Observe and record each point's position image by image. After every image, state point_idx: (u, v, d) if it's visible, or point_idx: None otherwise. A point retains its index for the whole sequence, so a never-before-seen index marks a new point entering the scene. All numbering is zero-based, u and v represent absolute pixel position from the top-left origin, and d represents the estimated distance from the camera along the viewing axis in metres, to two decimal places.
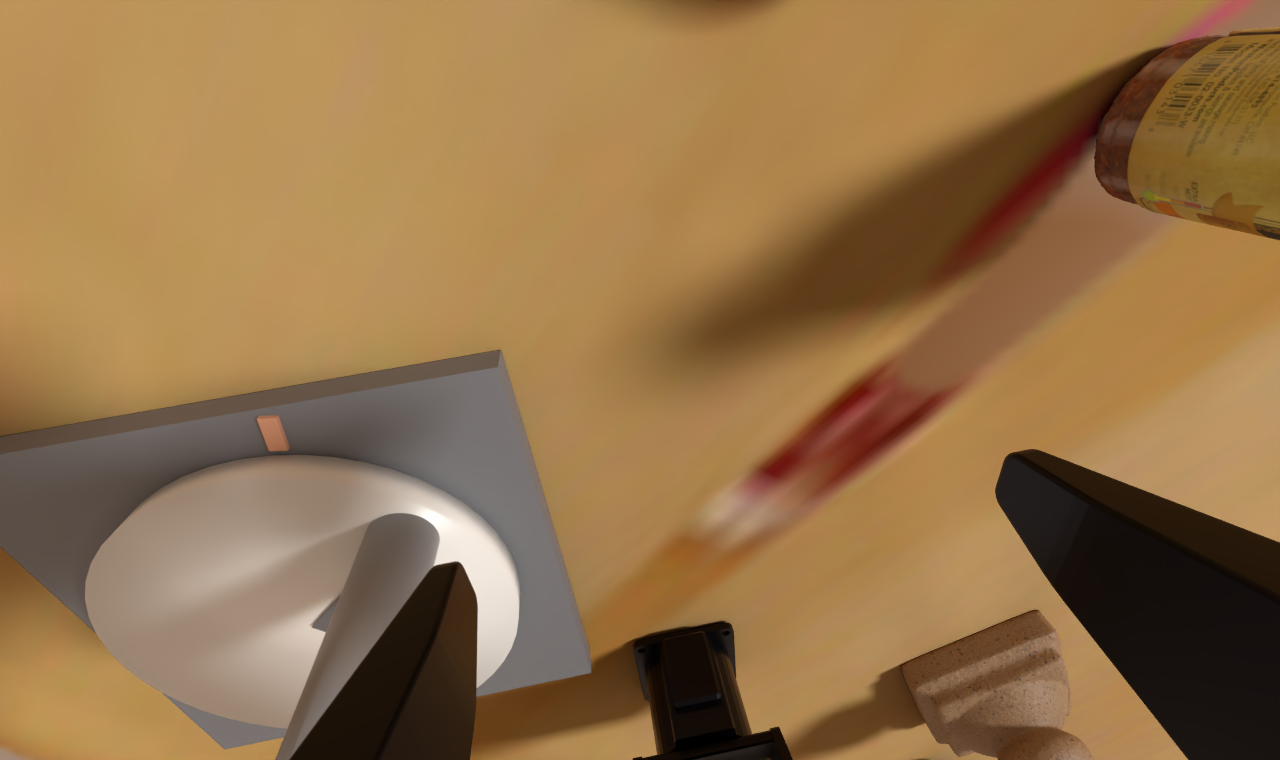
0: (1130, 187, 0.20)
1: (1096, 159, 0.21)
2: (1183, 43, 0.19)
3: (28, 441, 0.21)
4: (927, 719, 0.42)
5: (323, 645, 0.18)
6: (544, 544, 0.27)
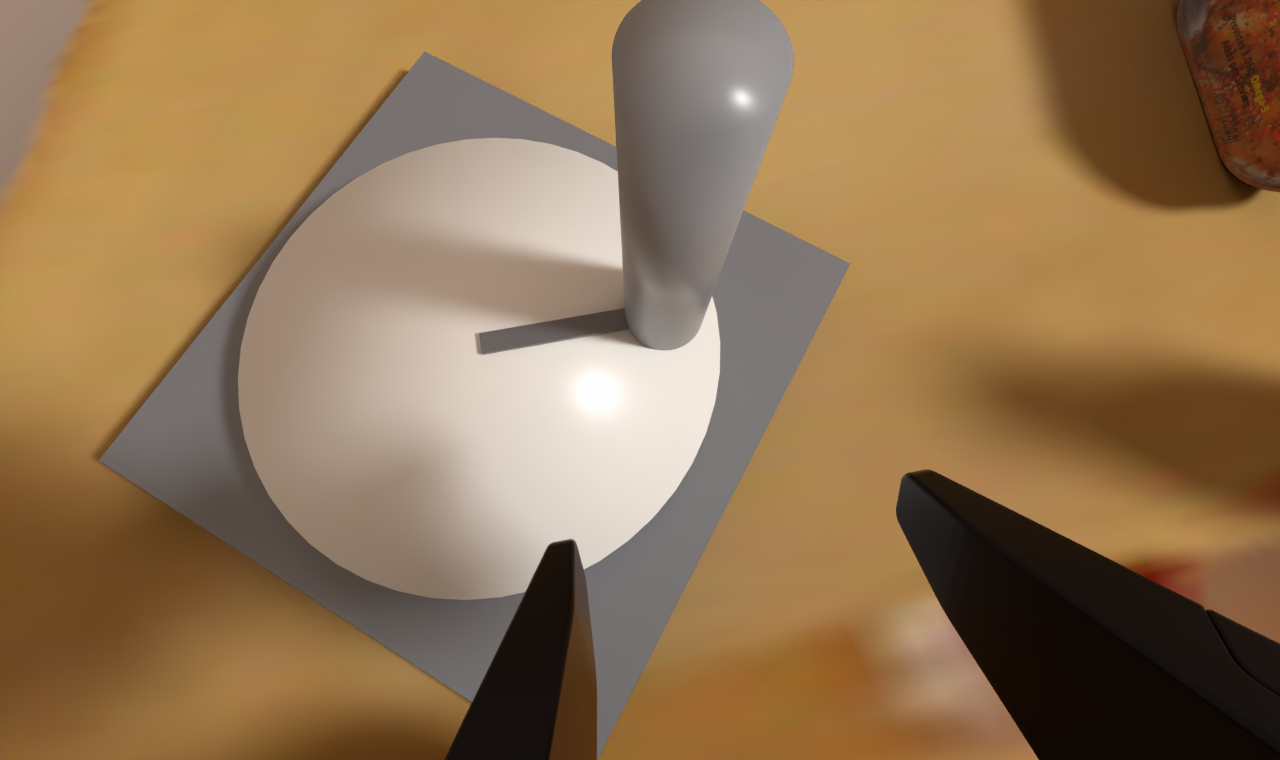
0: None
1: None
2: None
3: None
4: None
5: None
6: (733, 470, 0.21)
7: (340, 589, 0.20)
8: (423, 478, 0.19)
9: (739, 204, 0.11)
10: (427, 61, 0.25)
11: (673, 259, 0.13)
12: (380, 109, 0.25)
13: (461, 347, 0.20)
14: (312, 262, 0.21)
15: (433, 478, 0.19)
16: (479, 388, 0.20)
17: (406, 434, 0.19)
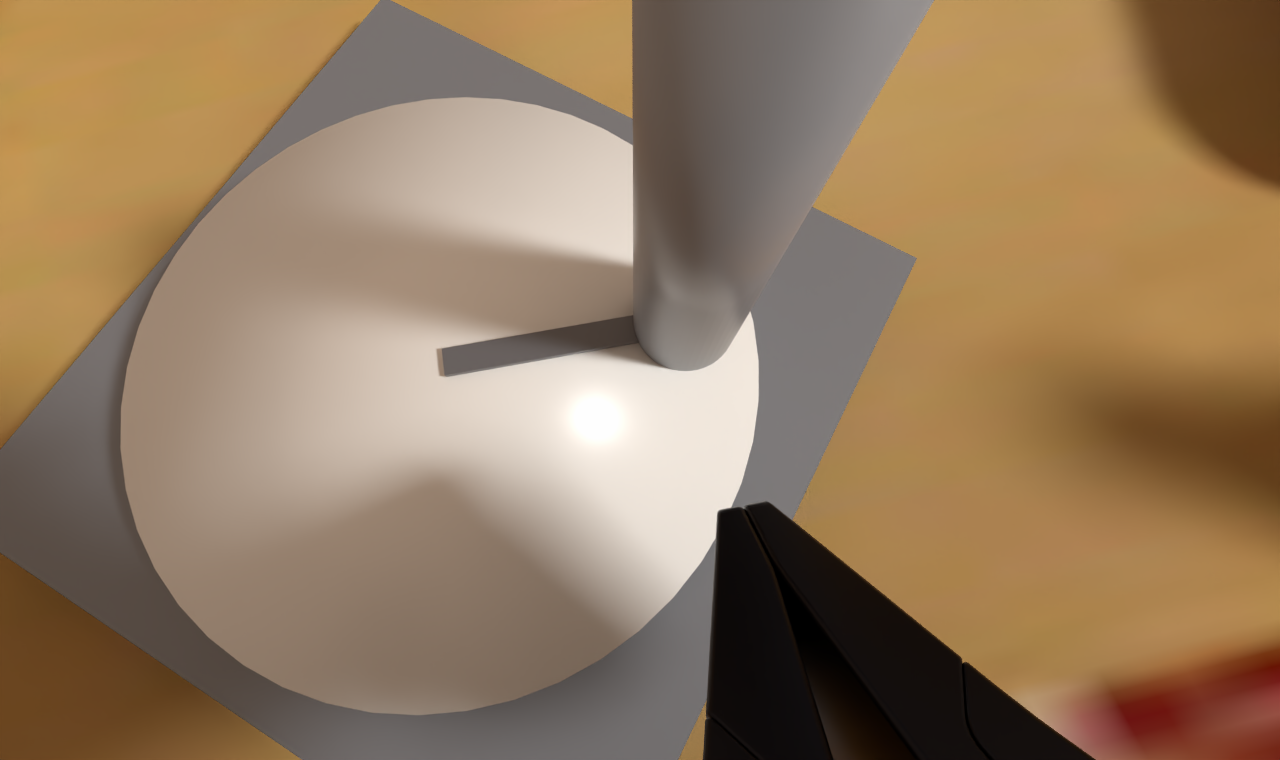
0: None
1: None
2: None
3: None
4: None
5: None
6: None
7: (256, 689, 0.15)
8: (364, 544, 0.14)
9: (846, 143, 0.06)
10: (386, 8, 0.20)
11: (721, 243, 0.08)
12: (327, 66, 0.20)
13: (418, 367, 0.15)
14: (226, 255, 0.16)
15: (377, 544, 0.14)
16: (441, 421, 0.15)
17: (343, 483, 0.14)
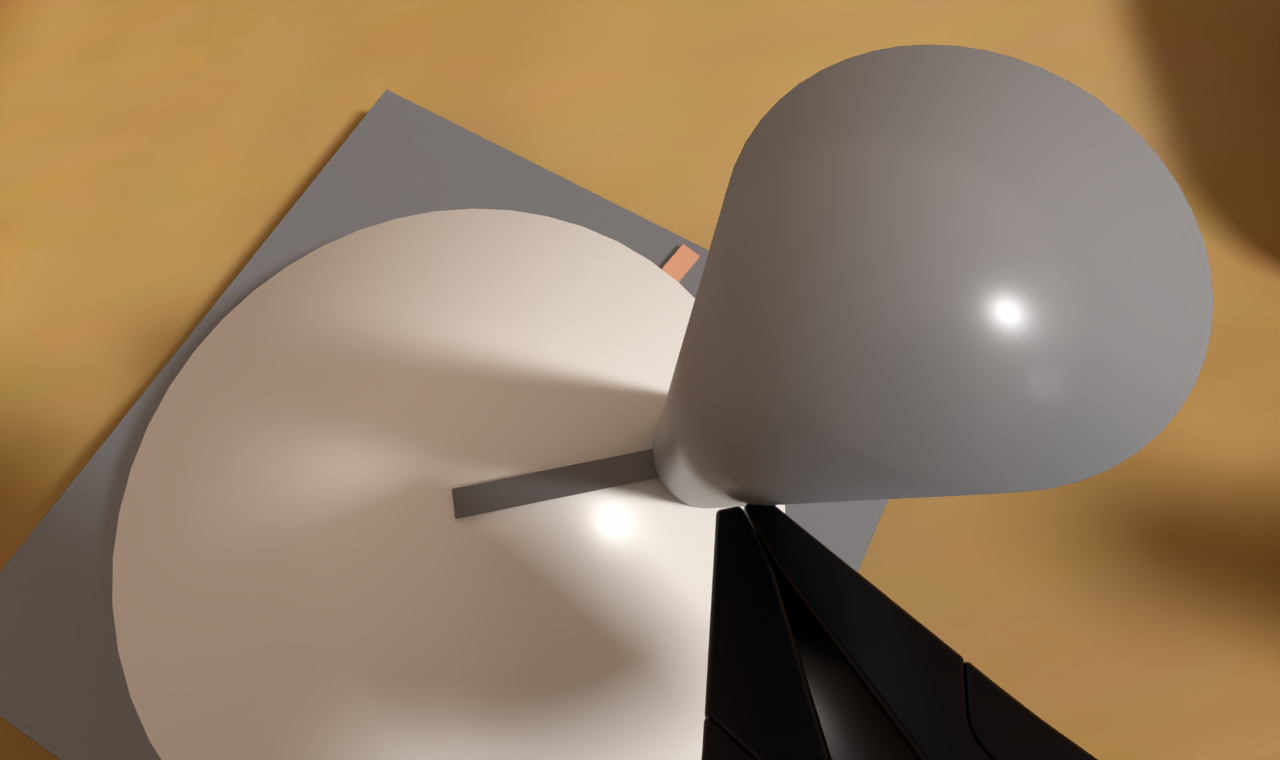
0: None
1: None
2: None
3: None
4: None
5: None
6: None
7: None
8: (372, 709, 0.13)
9: None
10: (389, 102, 0.20)
11: (771, 504, 0.07)
12: (329, 164, 0.19)
13: (427, 508, 0.14)
14: (223, 386, 0.15)
15: (386, 708, 0.13)
16: (452, 569, 0.14)
17: (349, 640, 0.14)
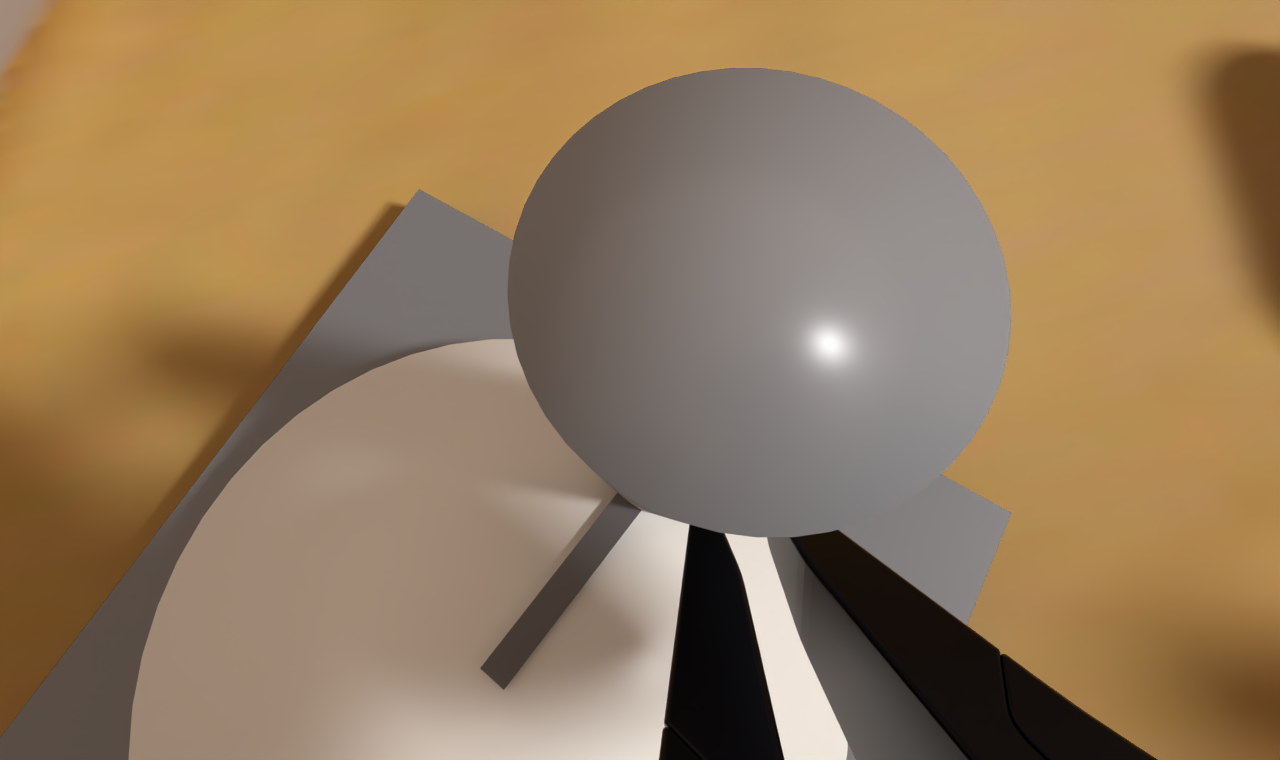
0: None
1: None
2: None
3: None
4: None
5: None
6: None
7: None
8: None
9: None
10: (422, 203, 0.19)
11: None
12: (358, 272, 0.18)
13: (472, 702, 0.13)
14: None
15: None
16: (535, 731, 0.13)
17: None
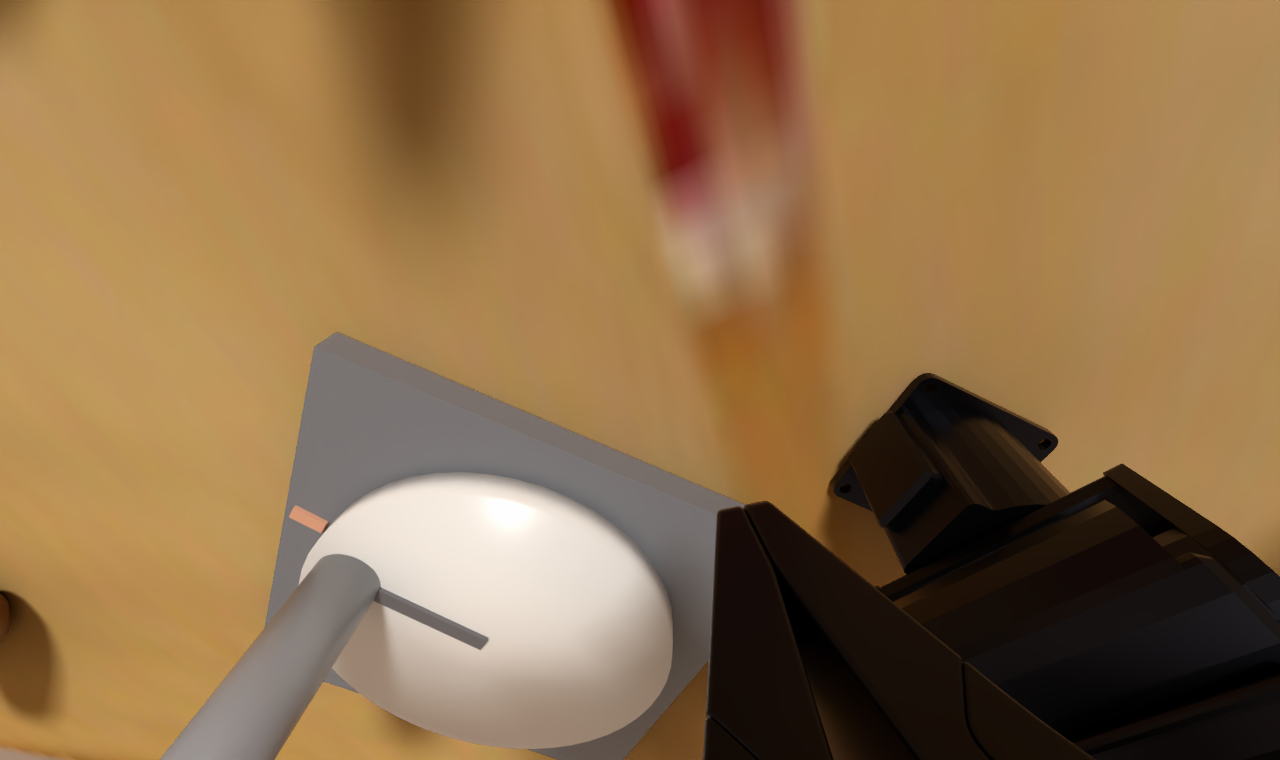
0: None
1: None
2: None
3: None
4: None
5: None
6: (555, 455, 0.22)
7: (675, 678, 0.29)
8: (578, 614, 0.24)
9: None
10: None
11: (242, 746, 0.17)
12: None
13: (498, 649, 0.26)
14: (550, 732, 0.29)
15: (572, 610, 0.24)
16: (505, 626, 0.25)
17: (568, 637, 0.25)
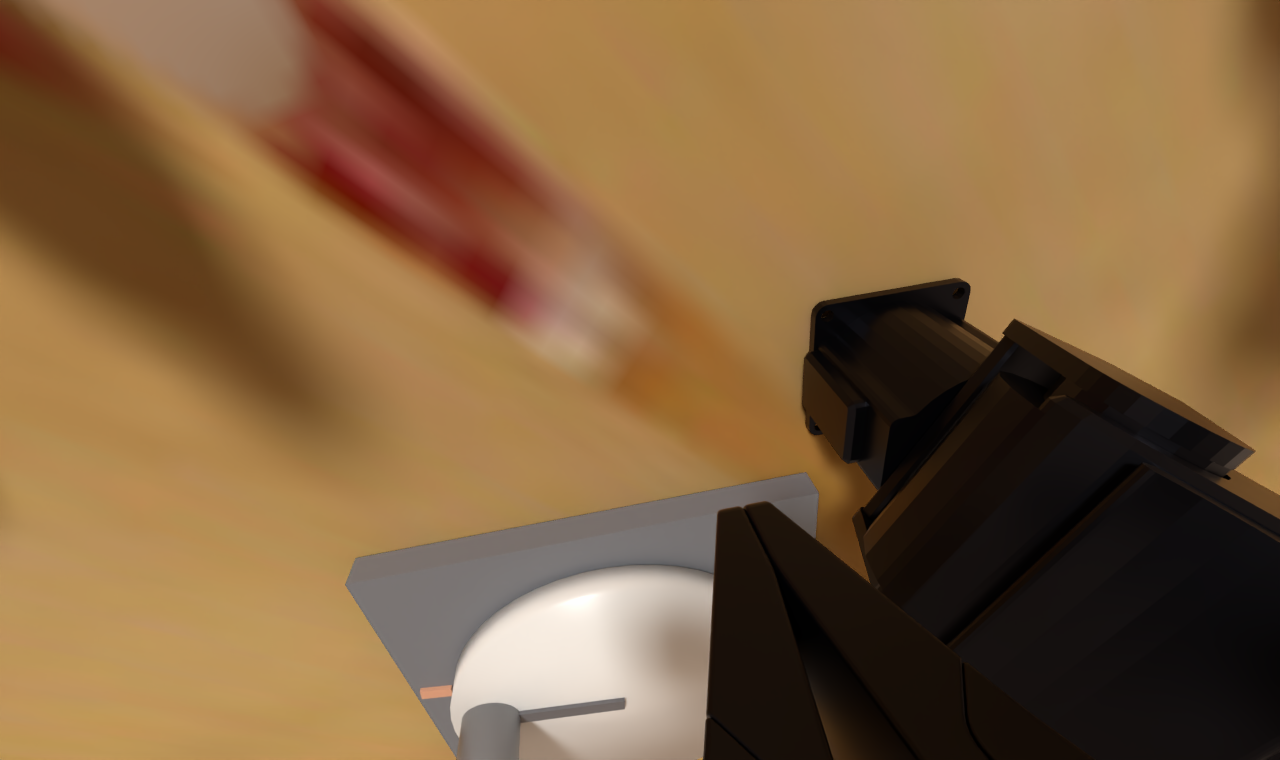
0: None
1: None
2: None
3: None
4: None
5: None
6: (573, 546, 0.25)
7: None
8: (676, 644, 0.27)
9: None
10: None
11: None
12: None
13: (638, 700, 0.29)
14: None
15: (670, 645, 0.27)
16: (630, 683, 0.28)
17: (683, 663, 0.28)
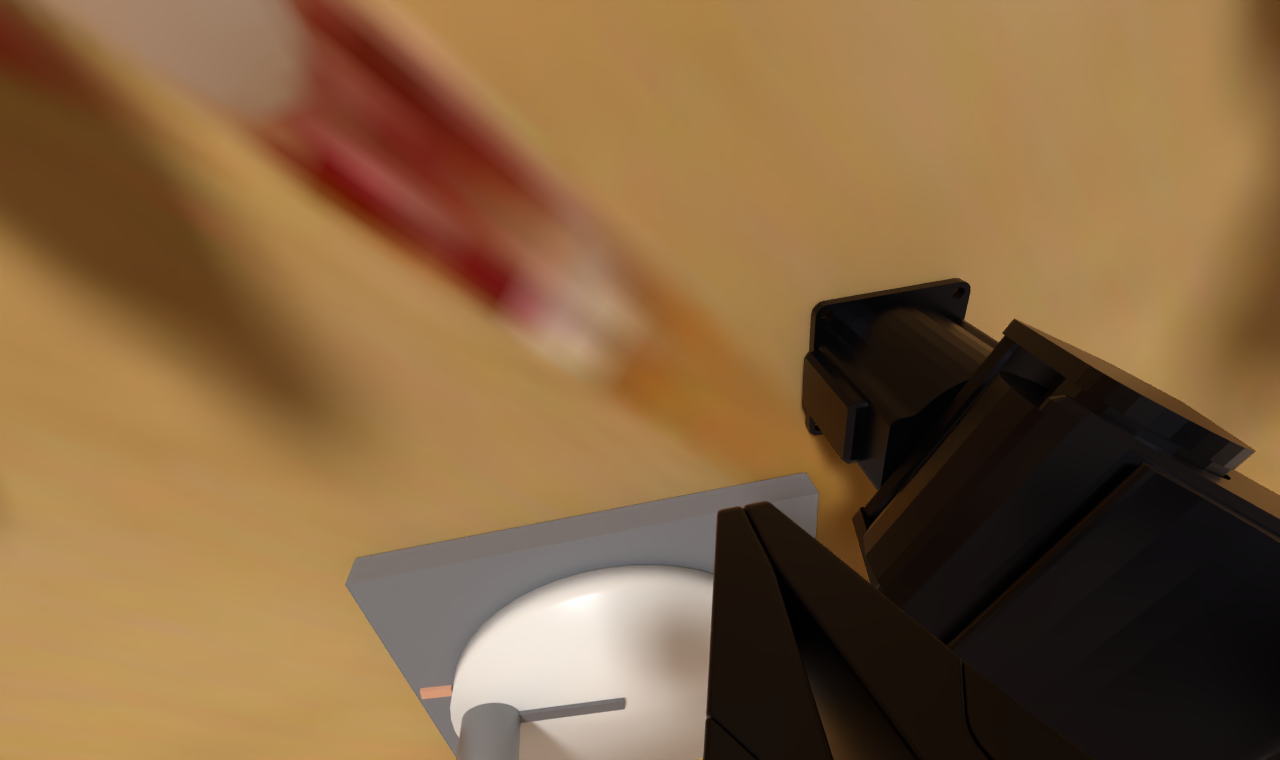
0: None
1: None
2: None
3: None
4: None
5: None
6: (573, 546, 0.25)
7: None
8: (676, 644, 0.27)
9: None
10: None
11: None
12: None
13: (638, 700, 0.29)
14: None
15: (670, 645, 0.27)
16: (630, 683, 0.28)
17: (683, 663, 0.28)
